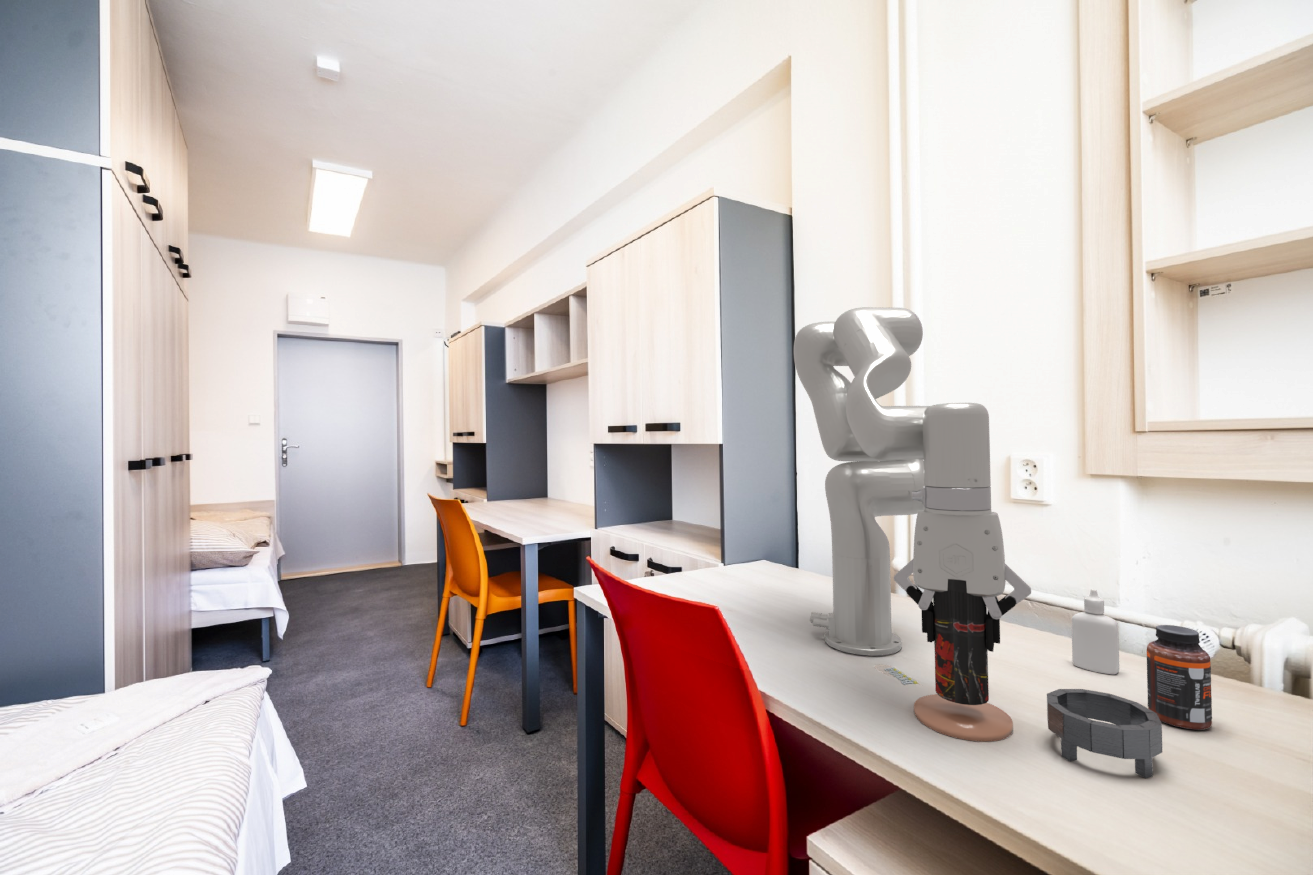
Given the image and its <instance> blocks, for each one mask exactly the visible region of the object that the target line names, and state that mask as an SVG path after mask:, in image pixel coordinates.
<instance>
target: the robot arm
mask: <svg viewBox="0 0 1313 875" xmlns="http://www.w3.org/2000/svg"><path fill="white" fill-rule="evenodd" d="M923 331H924V329H923V325H922V323H921V319H920V318H919V316H918V315H917V314H916V313H915V312H914V311H912V310H910V309H909V308H904V307H871V306H870V307H869V306H868V307H862V306H861V307H855V308H851V309H848V310H846V311H844V312H843V313H842V314H841V315H839V316H838V317H837V319H836V320H835V321H819V322H813V323H809V324H807V325H805V326H803V327H801V329H799V331H797V333H796V336H795V338H794V341H793V361H794V366H795V370H796V373H797V375H798V378H799V382H801V384H802V386H803V388H804V389H805V392H806V393H807V395H808V397H809V399H810V402H811V404H812V408H813V414H814V417H815V421H816V425H817V426H816V427H817V429H818V433H819V437H820V441H821V445H822V447H823V450H824V452H825V454H826V455H827V457H829V458H830V459H831V460H832V461H833V460H834V461H837V462H843V463H838V464H837V465H835V466H833V467H832V468H831V469H830V470H829V471H828V473H827V475H826V476H825V481H824V491H825V498H826V501H827V507H828V512H829V519H830V528H831V529H830V530H831V531H830V532H831V553H832V554H831V559H832V560H831V561H832V562H831V563H832V608H833V611H832V613H831V612H829V613H828V614H825V613H824V614H823V613H821V612H814V611H812V612H810V614H809V616H810V617H809V618H810V619H809V621H810V623H812V626H813V627H819V628H825V629H826V631H825V633H824V641H825V643H826V644H827V645H828V646H830V647H831V648H833V649H835V650H838V651H840V652H844V653H847V654H853V655H859V656H872V657H873V656H874V657H877V656H888V655H892V654H896V653H898V652H899V651H901V649H902V639H901V638H900V637H899V636H898V635H896V634H895V633H893V632H892V593H891V592H892V590H891V589H892V588H891V585H892V584H891V549H890V548H891V547H890V546H891V545H890V541H889V539H888V536H887V535H886V533H885V532H884V530H883V528H881V526H880V525H879V523H878V522H877V520H876V517H886V516H889V517H891V516H911V515H916V518H915V526H914V536H913V537H914V540H913V558H912V559H911V560H910V561H909V562H908V563H907V564H905V565H904V566H903V567H902V568H901V569H900V570H899V571H898V572H896V574H894V575H893V581H894V582H895V583H896V584H897V585H898V586H899V587H901V589H902V590H904V591H905V592H906V594H907V596H908V597H910V599H912V601H914V603H915V604H916V605H918V608H919V609H920V610H921V632H922V634H924V633H925V634H926V640H927V641H926V642H927V643H934V606H933V596H934V593H935V591H936V592H944V591H947V588H948V579H954V580H964V581H966V585H967V593H968V594H971V595H974V596H983V599H984V602H985V604H986V608H987V616H986V650H988V652H992V653H994V648H995V644H998V645H999V644H1001V624H1000V623H1001V618H1002V617H1003V616H1004V615H1005V614H1006V613H1007V612H1009V611H1011V610H1012V609H1014V607H1015V606H1016V605H1018V604H1019V603H1021V602H1022V601H1023V600H1025V599H1026V598H1028V597H1029V596H1031V594H1032V588H1031V587H1030V585H1029V584H1028V583H1026V581H1024V579H1022V578H1021V577H1020V576H1019V575H1018V574H1017V573H1016V572H1015V571H1014V570H1013V569H1012V568H1011V567H1009V566H1008V565H1007V564H1006V559H1005V557H1006V556H1005V548H1004V538H1003V530H1002V526H1001V520H1000V517H999V514H998V513H997V512H995V511H992V487H991V485H992V484H991V446H990V444H991V442H990V415H989V410H988V409H987V408H986V406H985V405H983V404H981V403H977V402H950V403H949V402H948V403H938V404H933V405H880V404H879V402H878V401H877V400H878V399H879V398H882V397H883V396H886V395H888V394H890V393H892V392H894V391H895V390H897V389H898V388H900V387H901V385H903V384H904V383H905V381H906V380H907V379H908V377H910V373H911V370H912V361H911V358H910V357H911V356H912V355H913V354H915V352H917V351H918V349H919V348H920V346H921V344H922V342H923V337H924V336H923V335H924V334H923V333H924V332H923ZM835 367H849V369H850V371H851V373H852V375H853V376H854V378H853V379H852V381H850V380H849V379H848V378H847V377H846V376H845V375H844V374H842V372H840V371H839V370H837V369H836V368H835ZM912 574H913V575H912ZM911 575H912V576H913V581H914V582H912V580H911V579H910V576H911ZM1006 582H1007V583H1008V584H1009V585H1011V587H1012V588H1013V590H1012V591H1011V592H1009V593H1008V594H1006V595H1005V596H1004V597H1002V598H1001V599H999V598H998V596H1001V595H1002V594H1003V593H1004V592H1005V588H1006ZM922 590H923V591H922Z"/></svg>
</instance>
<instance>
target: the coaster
mask: <svg viewBox="0 0 1313 875" xmlns="http://www.w3.org/2000/svg"><path fill="white" fill-rule="evenodd" d="M913 713H914V717H915V718H916V719H917V720H918V721H919V722H920V723H922V725H924V726H926V727H927V728H928V729H931V730H932V731H935V732H937V733H939V734H942V735H945V736H948V737H952V738H955V739H960V740H963V741H964V740H966V741H970V742H971V741H972V742H985V743H986V742H988V743H989V742H997V741H1003V740H1005V739H1008V738H1009V737H1010V736H1011V735H1012V734H1013V731H1014V723H1013V719H1012V716H1010V715H1009V714H1008V713H1007V712H1006V711H1004V710H1003V709H1001V708H1000V707H998V706H995V705H994V704H991V703H990V702H987V703H985V704H982V705H965V704H959V703H954V702H951V701H948V700H946V699H943V698H942V697H940V696H939V695H938V694H937V693H935V694H927V695H924V696H921V697H919V698H917V699H916V700H915V702H914V704H913Z"/></svg>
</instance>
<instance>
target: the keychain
mask: <svg viewBox="0 0 1313 875" xmlns="http://www.w3.org/2000/svg"><path fill="white" fill-rule="evenodd" d="M874 668H875V670H876V671H878V672H879V673H881V674H883V675H884V676H888V677H892V678H895V679H897V680H898V681H900V682H901V684H902V685H904V686H906V685H919V686H923V684H921V683H919V681H917V680H915V679H913V678H911V677H910V676H908V675H907V674H905V673H904V672H902V671H900V670H899V669H897V668H895V667H894V666H892V665H889V664H875V665H874Z"/></svg>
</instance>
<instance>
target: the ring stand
mask: <svg viewBox="0 0 1313 875" xmlns="http://www.w3.org/2000/svg"><path fill="white" fill-rule="evenodd" d="M1046 715H1047V716H1046V717H1047V718H1046V720H1047V729H1048V730H1049V731H1050V732H1052V733H1053V734H1054V735H1056V736H1057V737H1058V738H1060V744H1061V745H1060V749H1061V752H1060V753H1061V754H1060V755H1061V758H1064V759H1065V760H1067V761H1068V762H1073V761H1077V760H1078V748H1081V749H1083V750H1085V751H1088V752H1090V753H1094V754H1099V755H1103V756H1108V757H1113V758H1117V759H1121V760H1134V773H1135V774H1136V775H1138V776H1140V777H1142V778H1143V779H1150V778H1153V775H1154V774H1153V772H1154V771H1153V758H1155V757H1157V756H1159V755H1160V754H1163V724H1162V723H1163V722H1161V721H1160V719H1159V717H1158V715H1157V714H1156V713H1155V712H1153V711H1152V710H1150V709H1148V707H1146V706H1144V705H1142V704H1141V703H1139V702H1137V701H1134V700H1131V699H1128V698H1126V697H1125V698H1124V697H1122V696H1119V695H1116V694H1112V693H1108V692H1102V691H1096V690H1091V689H1084V688H1058V689H1055V690H1053V691H1050V692H1047V693H1046Z"/></svg>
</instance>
